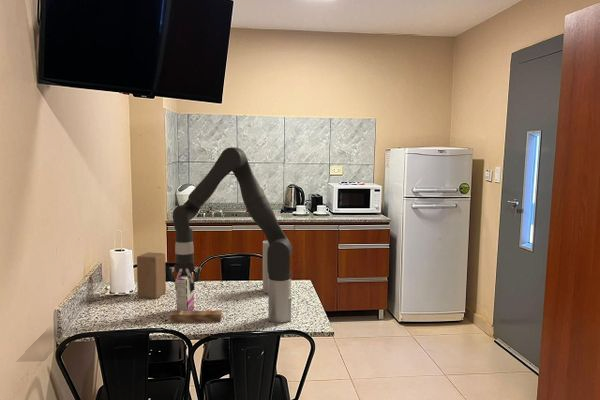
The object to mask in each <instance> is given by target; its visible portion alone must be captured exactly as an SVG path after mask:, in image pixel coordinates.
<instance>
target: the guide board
mask: <svg viewBox="0 0 600 400" xmlns="http://www.w3.org/2000/svg"><path fill="white" fill-rule="evenodd" d="M222 313H223V310H210V309H209V310H192V311H177V310H172V312H171V313H170V314H169V320H170V321H169V323H216V322H217V323H218V322H220V323H221V321H222V317H223V316H222Z"/></svg>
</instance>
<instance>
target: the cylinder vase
mask: <svg viewBox="0 0 600 400" xmlns="http://www.w3.org/2000/svg"><path fill="white" fill-rule="evenodd" d="M268 247H269V242H268V240H263V241H262V292H263V293H264V294H267V295H268V293H269V275H268V270H267V251H268Z"/></svg>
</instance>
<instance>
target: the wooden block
mask: <svg viewBox="0 0 600 400" xmlns="http://www.w3.org/2000/svg"><path fill="white" fill-rule="evenodd" d="M136 271H137V272H136V275H137V277H136V278H137V280H136V281H137V285H136V286H137V297H138V298H143V299H154V300H155V299H158V298H160V297H162V296H163V295H165V294H166V291H167V288H166V287H167V286H166V285H167V283H166V276H167V275H166V254H165V253H164V252H163V253H162V252H150V251H149V252H145V253H142V254H140V255H138V256H137V257H136Z"/></svg>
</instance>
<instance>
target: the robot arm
mask: <svg viewBox="0 0 600 400" xmlns="http://www.w3.org/2000/svg"><path fill="white" fill-rule="evenodd" d="M231 172H232V174H233V175H234V177H235V178H236V180H237V182H238V185H239V189H240V195H241V198H242V201H243V204H244V206H245V208H246V210H247V212H248V214H249V216H250V217H251V219H252V220H253V222H254V223H255V224H256V225H257V226H258V227H259V228H260V229H261V231H262V232H263V234H264V235H265V238H266V239H267V240H268V242H269V247H268V251H267V270H268V275H269V293H268V294H267V295H268V301H267V303H268V305H267V306H268V307H267V308H268V309H267V310H268V312H267V313H268V314H267V317H268V318H267V319H268V321H270V322H272V323H278V324H279V323H281V324H283V323H287V322H292V295H291V294H292V272H291V258H290V257H291V255H292V253H293V245H292V243H291V241H290V240H289V238H288V237H287V235H286V234H285V233H284V231H283V230H282V228H281V226H280V224H279V222H278V220H277V217H276V215H275V213H274V210H273V209H272V205H271V203H270V202H269V200H268V198H267V196H266V194H265V192H264V191H263V189H262V187H261V185H260V184H259V181H258V180H257V178H256V177H255V175H254V172H253V171H252V168H251V165H250V163H249V159H248V157H247V155H246V152H245V151H244V150H243V149H242V148H240V147H232V146H231V147H227V148H225V149H224V150H223V151H222V152H221V153H220V154H219V156H218V158H217V160H216V162H215V163H214V164H213V165H212V167H211V168H210V170H209V171H208V173H206V175H205V176H204V177H203V179H202V180H201V181H200V182H199V183H198V184H197V185H196V187H194V189H193V190H192V191H191V192H190V193H189V195H188V197H187V200H186V201H185V202H184V203H183V204H181V205H177V206H176V207H174V209H173V210H172V211H173V212H172V223H173V227H174V230H175V246H174V247H175V249H174V251H175V256H174V257H175V259H174V260H175V264H174V266H169V268H167V272H168V276H169V279H170V282H171V283H174V285H175V288H174V289H175V291H176V278H178V277H180V276H189V277H190V281H191V292H193V290H194V291H195V283H197V282H199V280H200V277H201V276H200V275H201V271H202V267H201V266H196V265H195V260H194V259H195V253H194V252H195V248H194V236H193V235H194V232H193V229H192V227H190V221H191V220H193V218H194V217H195V216H196V215H197V214H198V213H199V211H200V209H201V208H202V206H203V205H204V204H206V202H207V201H208V200H209V199H210V198H211V197H212V195H213V194H214V193H215V191H216V189H217V188H218V186H219V185H220V183H221V182H222V181H223V179H225V178H226V176H228V175H229V174H230V173H231ZM194 270H195V273H196V274H195V277H194ZM174 272H176V273H177V275H176V278H175V275H174ZM192 272H193V274H192Z"/></svg>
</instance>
